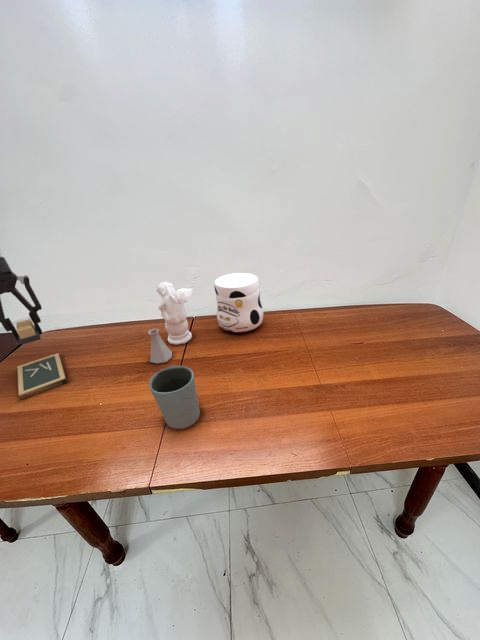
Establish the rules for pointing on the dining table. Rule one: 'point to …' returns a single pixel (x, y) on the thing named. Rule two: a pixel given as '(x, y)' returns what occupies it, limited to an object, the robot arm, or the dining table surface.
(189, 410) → the grey cup
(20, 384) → the slate
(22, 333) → the eraser
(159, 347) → the flask
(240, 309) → the milk container
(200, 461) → the dining table surface
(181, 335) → the cherub figurine
